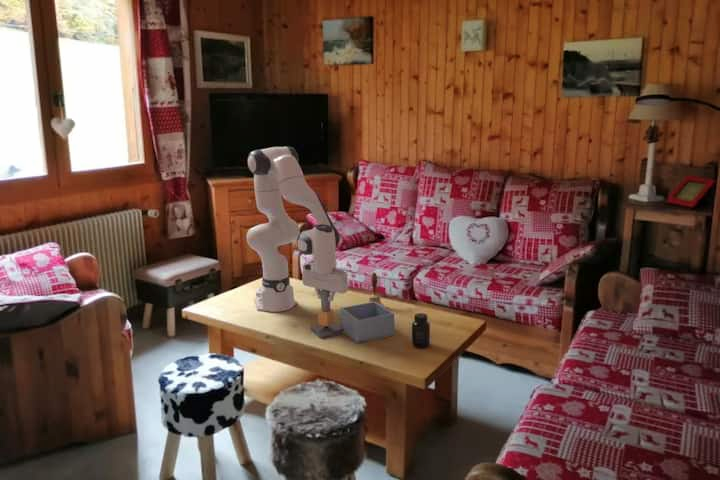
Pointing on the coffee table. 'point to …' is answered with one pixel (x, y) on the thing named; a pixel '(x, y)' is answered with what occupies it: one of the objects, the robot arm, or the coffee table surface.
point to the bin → (367, 321)
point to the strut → (325, 310)
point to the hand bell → (374, 296)
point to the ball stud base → (327, 330)
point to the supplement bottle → (420, 331)
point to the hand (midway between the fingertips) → (325, 299)
